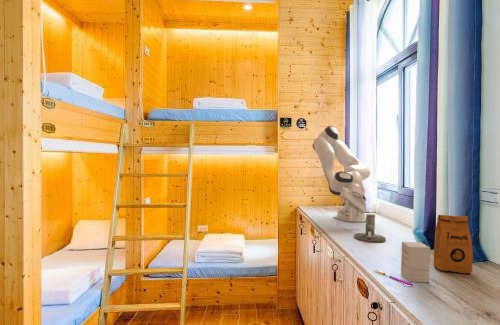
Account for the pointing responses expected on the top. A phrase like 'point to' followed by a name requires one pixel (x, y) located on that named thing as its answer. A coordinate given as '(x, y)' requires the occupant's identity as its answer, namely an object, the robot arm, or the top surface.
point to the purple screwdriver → (396, 279)
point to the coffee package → (453, 244)
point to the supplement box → (415, 261)
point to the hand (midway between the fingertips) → (352, 212)
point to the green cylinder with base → (370, 226)
